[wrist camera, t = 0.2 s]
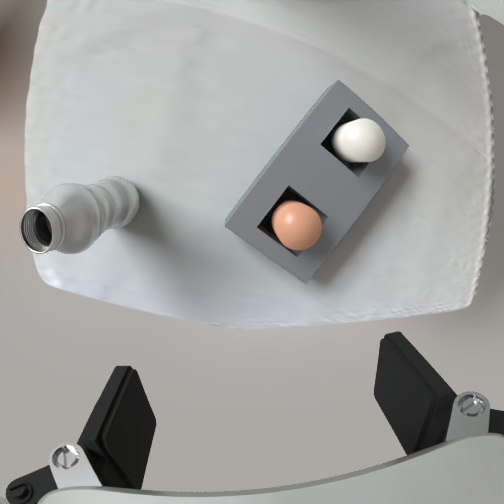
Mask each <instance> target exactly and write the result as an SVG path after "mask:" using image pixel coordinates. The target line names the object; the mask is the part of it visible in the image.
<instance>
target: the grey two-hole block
mask: <svg viewBox="0 0 504 504" xmlns="http://www.w3.org/2000/svg"><path fill="white" fill-rule="evenodd" d="M340 118H341V119H342V120H344V121H345V122H346V123H349V122H351V121H354V120H357V119H361V118H366V119H370V120H372V121H374V122H376V123H377V124H378V125H379V126H380V128H381V129H382V131H383V133H384V136H385V142H386V143H385V149H384V152H383V154H382V155H381V156H380V157H379V158H378V159H377V160H375V161H372V162H354V163H353V165H352V166H351V167H350V169H348V168H347V167H346V166H345V165H344V164H343V163H341V162H340V161H339V160H338V159H337V158H336V157H335V156H333V155H332V154H331V153H330V152H329V151H327V150H326V149H325V148H324V147H323V146H321V145H320V144H321V143H322V141H323V140H324V139H325V138H326V136H327V135H328V134H329V132H330V131H331V130H332V129H333V127H334V126H335V125H336V123H337V122H338V121H339V120H340ZM408 147H409V145H408V144H407V143H406V142H405V141H404V140H403V139H402V138H401V137H400V136H399V135H398V134H397V133H396V132H395V130H394V129H393V128H392V127H390V126H389V125H388V124H387V123H386V122H385V121H384V120H383V119H382V118H381V117H380V116H379V115H378V114H377V113H376V112H375V111H374V110H373V109H372V108H371V107H369V106H368V105H367V104H366V103H365V102H364V101H363V100H362V99H361V98H359V97H358V96H357V95H356V94H355V93H354V92H353V91H351V90H350V89H349V88H348V87H347V86H345V85H344V84H343V83H342V82H341V81H339V80H338V81H336V82H335V83H334V84H332V85H331V86H330V87H329V88H327V89H326V90H325V92H324V93H323V94H322V95H321V97H320V98H319V99H318V100H317V101H316V103H315V104H314V105H313V106H312V108H311V109H310V110H309V111H308V113H307V114H306V115H305V116H304V118H303V119H302V120H301V121H300V123H299V124H298V125H297V126H296V128H295V129H294V130H293V131H292V133H291V134H290V135H289V136H288V138H287V139H286V140H285V141H284V143H283V144H282V145H281V147H280V148H279V149H278V150H277V152H276V153H275V154H274V156H273V157H272V158H271V159H270V161H269V162H268V163H267V165H266V166H265V167H264V169H263V170H262V171H261V172H260V174H259V175H258V176H257V178H256V179H255V180H254V182H253V183H252V184H251V186H250V187H249V188H248V190H247V191H246V192H245V194H244V195H243V196H242V198H241V199H240V200H239V202H238V203H237V204H236V206H235V207H234V208H233V210H232V211H231V212H230V214H229V215H228V217H227V218H226V220H225V227H227V228H228V229H229V230H231V231H232V232H234V233H235V234H236V235H238V236H239V237H241V238H242V239H243V240H245V241H246V242H248V243H249V244H250V245H252V246H253V247H255V248H256V249H257V250H259V251H260V252H262V253H263V254H264V255H266V256H267V257H269V258H270V259H271V260H273V261H274V262H276V263H277V264H278V265H280V266H281V267H283V268H284V269H285V270H287V271H288V272H290V273H291V274H292V275H294V276H295V277H297V278H298V279H299V280H301V281H302V282H304V283H305V284H306V283H307V282H308V280H309V279H310V278H311V277H312V275H313V274H314V273H315V272H316V270H317V269H318V268H319V267H320V265H321V264H322V263H323V262H324V260H325V259H326V258H327V257H328V255H329V254H330V253H331V252H332V250H333V249H334V248H335V247H336V245H337V244H338V243H339V241H340V240H341V239H342V238H343V236H344V235H345V234H346V232H347V231H348V230H349V228H350V227H351V226H352V224H353V223H354V222H355V221H356V219H357V218H358V217H359V215H360V214H361V213H362V211H363V210H364V209H365V207H366V206H367V204H368V203H369V202H370V200H371V199H372V198H373V196H374V195H375V194H376V192H377V191H378V189H379V188H380V187H381V185H382V184H383V183H384V181H385V180H386V178H387V177H388V176H389V174H390V173H391V171H392V170H393V168H394V167H395V166H396V164H397V163H398V161H399V160H400V158H401V157H402V156H403V154H404V153H405V151H406V150H407V148H408ZM287 187H288V188H289V189H290V190H292V191H293V192H294V193H295V194H297V195H298V196H299V197H300V198H302V199H303V200H304V201H306V202H307V203H308V204H309V205H311V206H312V207H313V208H314V209H316V210H317V214H318V215H319V217H320V219H321V223H322V230H321V234H320V237H319V239H318V240H317V242H316V243H315V244H314V245H312V246H311V247H309V248H307V249H304V250H293V249H290V248H288V247H286V246H285V245H284V244H283V243H282V242H281V241H280V239H279V238H277V237H276V236H275V235H273V234H272V233H271V232H269V231H268V230H267V229H265V228H264V227H262V226H261V225H260V222H261V221H262V220H263V218H264V217H265V216H266V214H267V213H268V212H269V210H270V209H271V208H272V206H273V205H274V204H275V203H276V201H277V200H278V199H279V197H280V196H281V195H282V193H283V192H284V191H285V189H286V188H287Z"/></svg>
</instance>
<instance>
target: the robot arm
mask: <svg viewBox="0 0 504 504" xmlns="http://www.w3.org/2000/svg"><path fill="white" fill-rule="evenodd" d="M374 396H375V399H376V401H377V402H378V404H379V406H380V408H381V409H382V411H383V413H384V415H385V416H386V418H387V420H388V422H389V424H390V425H391V427H392V429H393V431H394V432H395V434H396V436H397V438H398V440H399V442H400V443H401V445H402V447H403V449H404V450H405V452H406V454H407V456H404V457H401V458H398V459H395V460H392V461H389V462H386V463H383V464H380V465H376V466H373V467H370V468H366V469H363V470H359V471H355V472H352V473H347V474H343V475H339V476H335V477H330V478H326V479H321V480H316V481H311V482H306V483H299V484H293V485H287V486H280V487H272V488H263V489H253V490H240V491H224V492H171V491H152V490H141V487H142V483H143V478H144V474H145V470H146V466H147V461H148V457H149V453H150V448H151V445H152V440H153V436H154V432H155V428H156V419H155V416H154V413H153V411H152V409H151V406H150V404H149V401H148V399H147V396H146V394H145V391H144V389H143V386H142V383H141V381H140V378H139V375H138V373H137V371H136V370H135V369H132V367H131V366H116V367H115V369H114V371H113V373H112V375H111V376H110V379H109V380H108V382H107V384H106V386H105V388H104V390H103V392H102V394H101V396H100V398H99V400H98V401H97V403H96V405H95V407H94V409H93V411H92V413H91V415H90V417H89V419H88V421H87V423H86V426H85V427H84V430H83V432H82V434H81V436H80V438H79V440H78V442H77V444H75V443H71V442H70V443H63V444H60V445H58V446H56V447H55V448H54V449H53V450H52V451H51V452H50V454H49V458H48V461H49V465H48V466H46V467H44V468H41V469H39V470H37V471H35V472H33V473H30V474H27V475H25V476H23V477H20V478H18V479H16V480H14V481H12V482H11V483H10V484H9V485H8V487H7V489H6V498H5V499H3V498H2V497H0V504H504V411H500V410H494V409H490V405H489V401H488V400H487V398H486V397H484V396H483V395H482V394H479V393H477V392H464V393H462V394H460V395H458V396H457V395H456V393H455V392H454V391H453V390H452V389H451V388H450V386H449V385H448V384H447V383H446V382H445V381H444V380H443V378H442V377H441V376H440V375H439V374H438V373H437V372H436V371H435V369H434V368H433V367H432V366H431V365H430V364H429V363H428V362H427V361H426V360H425V358H424V357H423V356H422V355H421V354H420V353H419V352H418V351H417V350H416V348H415V347H414V346H413V345H412V344H411V343H410V342H409V341H408V340H407V339H406V338H405V337H404V335H402V333H401V332H394V333H389V334H386V335H385V336H384V339H381V341H380V349H379V358H378V365H377V373H376V380H375V387H374Z"/></svg>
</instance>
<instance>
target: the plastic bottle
mask: <svg viewBox="0 0 504 504" xmlns="http://www.w3.org/2000/svg"><path fill="white" fill-rule="evenodd" d="M139 201H140V200H139V194H138V192H137V190H136V188H135V186H134V185H133V184H132V183H131V182H130V181H128V180H126V179H124V178H122V177H118V176H110V177H106V178H104V179H102V180H100V181H99V182H97V183H95V184H92V185H82V184H75V183H65V184H60V185H58V186H56V187H54V188H53V189H52V190H51V191H50V192H48V193H47V194H46V195H45V197H44V198H43V200H42V202H41V204H38V205H36V206H34V207H31V208H29V209H27V210H26V211H25V212H24V213H23V215H22V217H21V220H20V234H21V238H22V240H23V242H24V244H25V245H26V247H27V248H28V249H29V250H31V251H32V252H34V253H37V254H42V253H46V252H48V251H52V250H57V251H58V252H61V253H65V254H75V253H80V252H83V251H85V250H86V249H87V248H89V247H90V246H91V245H92V244H93V243H94V242H95V241H96V239H97V238H98V237H99V236H100V235H101V234H102V233H104V232H105V231H106V230H109V229H114V228H120V227H123V226H125V225H127V224H129V223H130V222H131V221H132V220H133V218H134V217H135V215H136V214H137V212H138V209H139Z"/></svg>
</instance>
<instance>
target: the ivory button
mask: <svg viewBox="0 0 504 504" xmlns="http://www.w3.org/2000/svg"><path fill="white" fill-rule="evenodd" d="M385 143H386V142H385V136H384V133H383V131H382V129H381V128H380V126H379V125H378V124H377V123H376V122H374V121H372V120H370V119H366V118H361V119H357V120H354V121H351V122H349V123H346V124H343V125H340V126H339V127H337V128H336V129H335V131H334V132H333V134H332V138H331V145H332V149H333V151H334V153H335V154H336V155H337V156H338V157H339V158H340V159H341V160H343V161H346V162H372V161H375V160H377V159H378V158H379V157H380V156H381V155H382V154H383V152H384V149H385Z"/></svg>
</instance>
